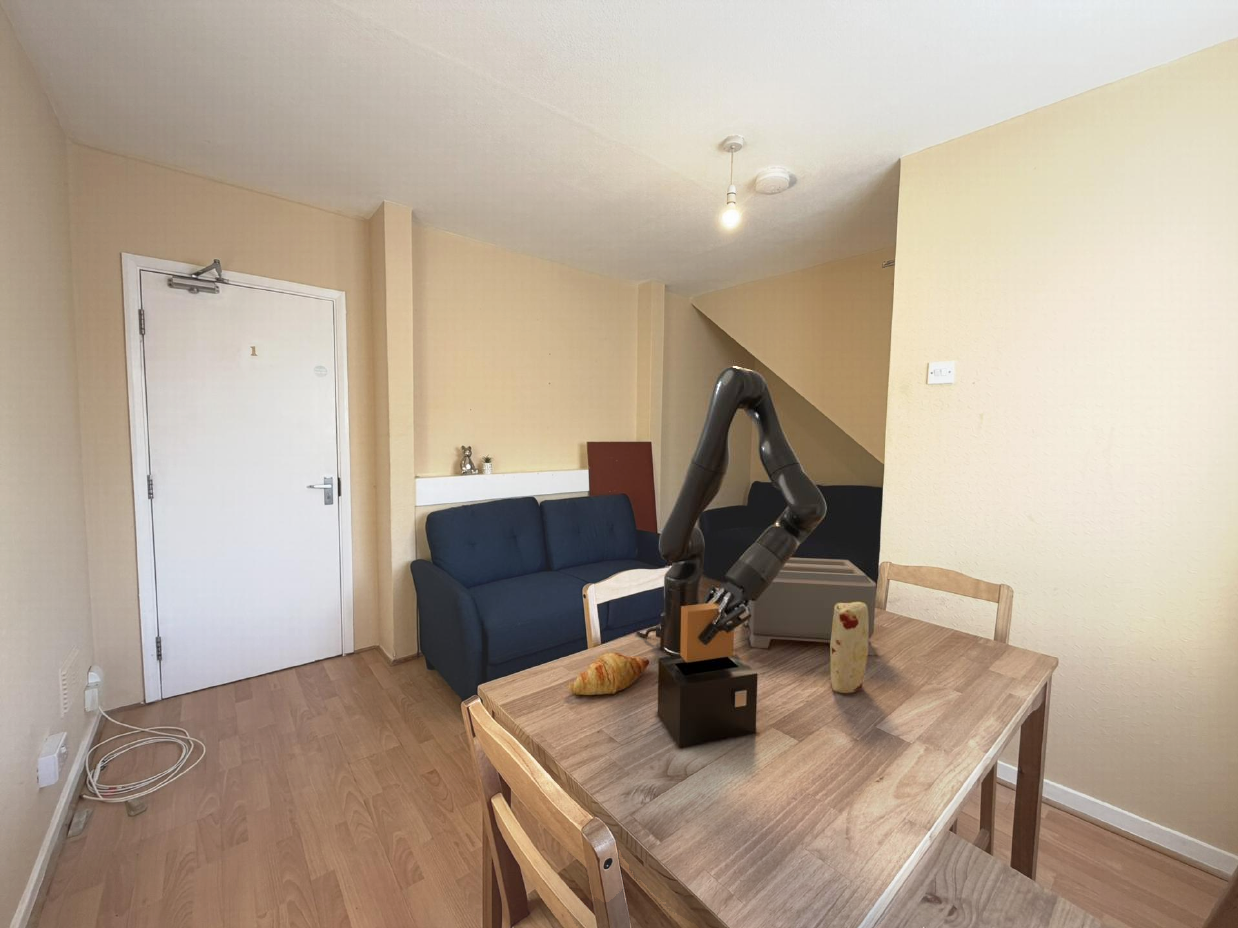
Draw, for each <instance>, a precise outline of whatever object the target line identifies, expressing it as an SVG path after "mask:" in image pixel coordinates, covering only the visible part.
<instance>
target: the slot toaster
mask: <svg viewBox="0 0 1238 928" xmlns="http://www.w3.org/2000/svg"><path fill="white" fill-rule="evenodd" d="M657 661H658V663H657V716H658V717H659V719H660V720H661V722H662V723H663V725H664V727H665V728H666V729H667V731H668V733H669V734H670V736H671V738H672V739H673V741H674V743H675V744H676V746H677V747H678V749H683V748H687V747H693V746H699V745H703V744H704V745H705V744H708V743H714V742H718V741H723V740H728V739H734V738H738V737H744V736H748V735H749V736H750V735H753V734H757V709H758V707H757V706H758V705H757V704H758V676H759V675H758V673H759V672H757V671H756V670H755V669H754V668H752V667H751V666H750V665H749V664H748V663H746V662H745V660H743V659H742V658H741V657H740V656H738V654H736V653H735V652H734V651H733V656H729V657H722V658H715V659H709V660H702V661H695V662H688V663H687V662H686V661H685V660H684V659H683V658H682V657H681V656H680V655H676V656H674V655H669V656H662V657H658V660H657Z"/></svg>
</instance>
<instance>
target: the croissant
mask: <svg viewBox="0 0 1238 928" xmlns="http://www.w3.org/2000/svg"><path fill="white" fill-rule="evenodd" d="M649 664H650V659H648V658H647V657H642V658H641V657H637V656H628V655H624V654H621V653H618V652H608V653H607V652H606V653H603V654H601V655H600V656H598V658H597V660H596V661H595V662H592V663H591V664H589V666H588V668H587V670H585V671H584V672H582V673H580V674H578V676H577V678H575V681H572V682H570V683H569V684H568V691H569V692H570V693H571V694H573V695H584V696H594V695H595V696H596V695H597V696H599V695H610V694H612V695H613V694H616V693H617V692H619V691H622V690H624V689H626V688H628V687H629V686H631V685H632V684H633V683H634V682H635V681H636V680H637V679H639V677H641V676H642V675H643V674H645V672H646V670H647V668H648V666H649Z"/></svg>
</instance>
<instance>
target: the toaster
mask: <svg viewBox="0 0 1238 928" xmlns="http://www.w3.org/2000/svg"><path fill="white" fill-rule="evenodd" d="M876 592H877V584H876V581H874V580H873V579H872V578H870V577H869V576H867V575H866V573H864V572H863V571H862V570H861V569H859V567H857V566H856V565H855V564H854V563H852V562H851V561H850V560H849V559H832V558H831V559H830V558H810V557H809V558H808V557H803V558H802V557H790V559H789V560H788V561H787V562H786V563H785V565H784V566H783V567H782V568H781V570H780V572H779V573H778V575H777V576H776V577H775V579H774V580H773V581H772V582H771V583H770V585H769V586H768V587H767V588H766V589H765V591H764V592H763V593H762V594H761V595H760V597H759V598H758V599H757V600H756V601H751V600H750V601H749V603H748V606H747V610H748V611H749V612H750V613H751V615H752V616H751V618H749V619H748V620H746V621H745V622H744V623H743V624H744V626H746V627H749V629H750V635H749V642H750V646H751V648H757V649H768V648H769V646H770V642H771V640H784V641H786V640H787V641H801V642H817V643H830V642H831V634H832V625H833V616H834V607H835V605H836V604H837V603H852V602H862V603H865V604H866V606H867V608H868V623H869V632H868V656H876V653H875V651H874V648H873V645H872V643H871V641H870V639H872V636H873V635H874V632H875V615H876V614H875V610H876V597H877V596H876V595H877V593H876Z"/></svg>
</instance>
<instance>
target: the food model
mask: <svg viewBox="0 0 1238 928" xmlns="http://www.w3.org/2000/svg"><path fill="white" fill-rule="evenodd" d="M868 632H869V623H868V608H867V606H866V604H865V603H862V602H852V603H837V604H836V605H835V607H834V616H833V625H832V634H831V642H829V645H830V646H829V653H830V657H829V658H830V659H829V660H830V662H829V663H830V664H829V665H830V682H831V687H832V689H833V691H834V692H838V693H841V694H849V693H850V694H851V693H855V692H858V691H859V690H861V689H862V688H863V683H864V678H865V672H866V667H867V661H868V656H869V655H868Z"/></svg>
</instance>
